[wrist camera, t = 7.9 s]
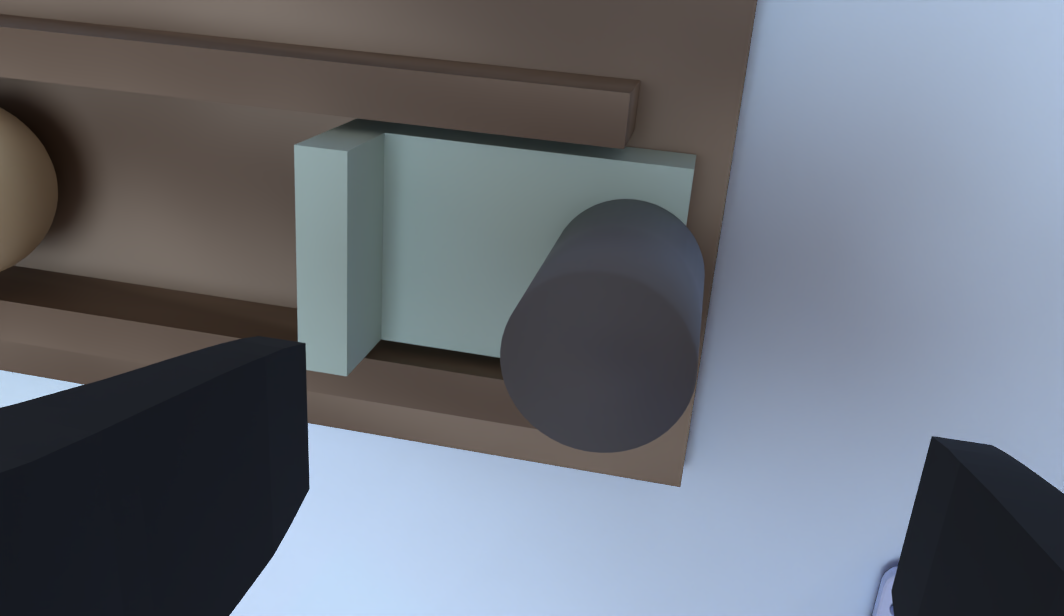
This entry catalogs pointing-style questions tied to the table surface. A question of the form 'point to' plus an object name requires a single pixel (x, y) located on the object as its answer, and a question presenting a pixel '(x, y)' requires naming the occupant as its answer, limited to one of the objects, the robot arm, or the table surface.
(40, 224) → the ball
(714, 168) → the base
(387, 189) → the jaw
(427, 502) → the table surface
